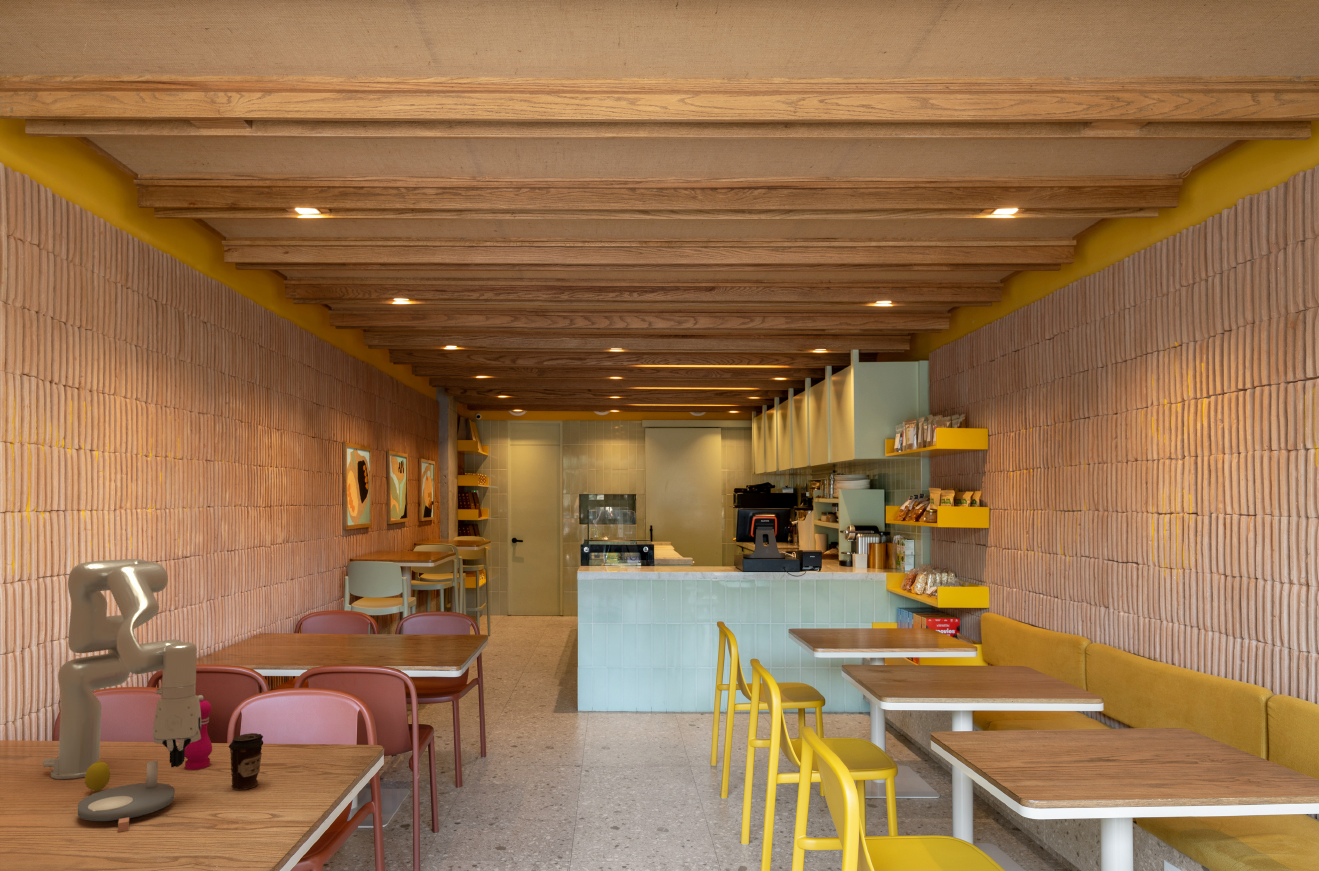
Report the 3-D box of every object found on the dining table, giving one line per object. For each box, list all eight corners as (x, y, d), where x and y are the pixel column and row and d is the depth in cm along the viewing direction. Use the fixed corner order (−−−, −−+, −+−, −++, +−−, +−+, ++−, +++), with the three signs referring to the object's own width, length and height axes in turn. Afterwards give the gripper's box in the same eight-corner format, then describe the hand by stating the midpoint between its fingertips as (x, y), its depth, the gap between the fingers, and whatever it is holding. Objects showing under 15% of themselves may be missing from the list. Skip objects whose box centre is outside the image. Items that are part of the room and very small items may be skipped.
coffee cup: (270, 783, 224) (272, 733, 225) (245, 793, 216) (247, 742, 217) (245, 779, 227) (246, 730, 228) (220, 789, 219) (221, 739, 220)
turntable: (59, 823, 192) (61, 788, 193) (102, 793, 212) (104, 761, 213) (153, 818, 196) (155, 783, 196) (187, 788, 215) (188, 757, 216)
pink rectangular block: (118, 827, 194) (119, 818, 194) (128, 826, 195) (129, 817, 195) (117, 832, 191) (118, 823, 191) (128, 830, 192) (128, 821, 192)
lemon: (92, 788, 220) (93, 757, 220) (114, 788, 220) (115, 757, 221) (79, 796, 214) (80, 764, 215) (101, 795, 215) (103, 763, 215)
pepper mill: (217, 762, 241) (219, 692, 243) (201, 770, 234) (203, 698, 235) (193, 762, 242) (196, 692, 243) (177, 770, 235) (180, 697, 236)
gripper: (140, 697, 209) (138, 772, 207) (204, 693, 211) (202, 768, 210) (153, 690, 216) (151, 763, 215) (215, 687, 219) (213, 759, 217)
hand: (176, 765), depth 212 cm, fingers closed
